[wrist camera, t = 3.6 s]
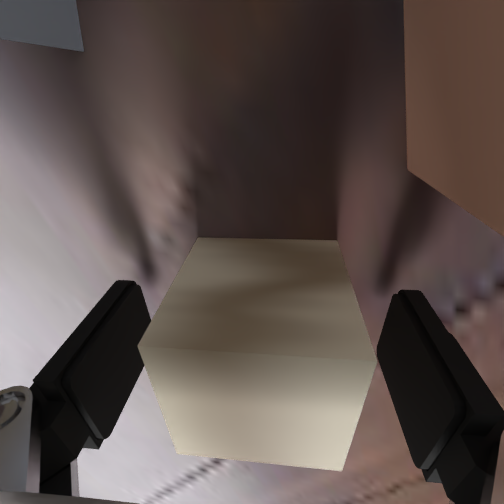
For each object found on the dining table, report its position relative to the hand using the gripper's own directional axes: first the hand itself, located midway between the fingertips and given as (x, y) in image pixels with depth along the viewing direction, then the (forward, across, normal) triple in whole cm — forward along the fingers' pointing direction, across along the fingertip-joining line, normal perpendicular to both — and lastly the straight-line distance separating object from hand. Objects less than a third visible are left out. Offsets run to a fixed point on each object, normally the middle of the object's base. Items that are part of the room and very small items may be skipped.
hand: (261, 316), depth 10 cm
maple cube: (+1, 0, 0) cm, 1 cm away
